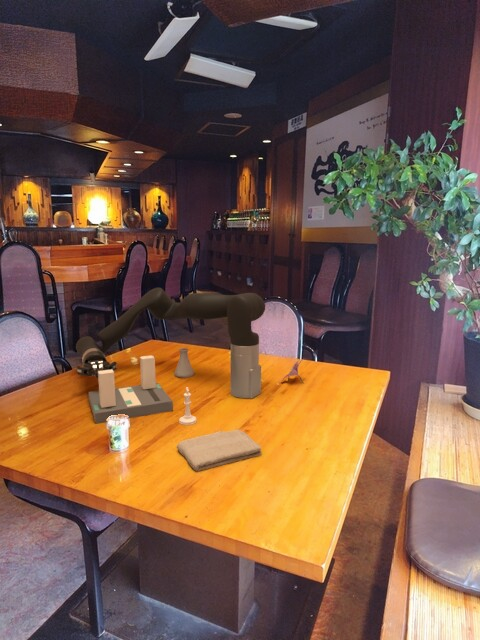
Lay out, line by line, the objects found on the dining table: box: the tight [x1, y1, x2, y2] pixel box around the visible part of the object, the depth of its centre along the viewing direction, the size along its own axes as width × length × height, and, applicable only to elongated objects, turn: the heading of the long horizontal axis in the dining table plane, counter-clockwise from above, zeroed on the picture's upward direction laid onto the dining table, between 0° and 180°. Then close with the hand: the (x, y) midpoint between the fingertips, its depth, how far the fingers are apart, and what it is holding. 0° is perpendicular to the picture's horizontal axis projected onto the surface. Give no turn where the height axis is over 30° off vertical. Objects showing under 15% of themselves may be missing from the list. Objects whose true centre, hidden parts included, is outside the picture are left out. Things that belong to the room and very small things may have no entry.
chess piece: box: [178, 386, 197, 426], centre depth 120 cm, size 5×5×10 cm
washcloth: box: [176, 429, 262, 472], centre depth 104 cm, size 12×18×3 cm, turn 118°
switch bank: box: [87, 382, 174, 424], centre depth 132 cm, size 18×22×3 cm
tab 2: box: [139, 355, 157, 390], centre depth 138 cm, size 3×4×10 cm
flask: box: [173, 348, 195, 379], centre depth 160 cm, size 7×7×10 cm
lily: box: [280, 359, 305, 384], centre depth 153 cm, size 11×11×9 cm
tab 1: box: [97, 369, 116, 408], centre depth 123 cm, size 3×4×10 cm
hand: (100, 375), depth 133 cm, fingers closed
